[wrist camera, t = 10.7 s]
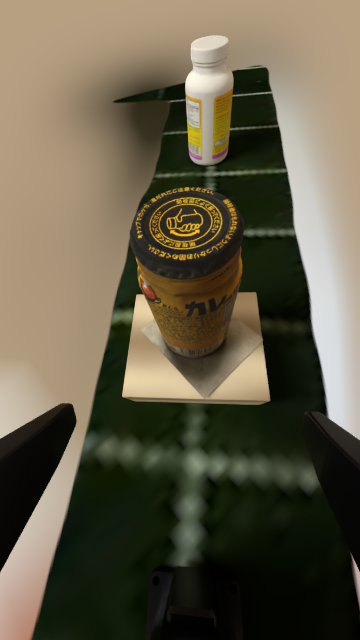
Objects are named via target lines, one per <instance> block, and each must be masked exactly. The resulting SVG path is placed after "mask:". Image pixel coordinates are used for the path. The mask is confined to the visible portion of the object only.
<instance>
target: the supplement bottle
mask: <svg viewBox="0 0 360 640" xmlns="http://www.w3.org/2000/svg"><path fill="white" fill-rule="evenodd" d="M228 42H229V41H228V39H227V38H226V37H224V36H207V37H203V38H200V39H197V40H195V41H194V42H193V43H192V44H191V60H192V63H193V70H192V72H190V74H189V75H188V77H187V79H186V85H185V88H186V106H187V124H188V141H189V154H190V158H191V160H192V161H193V162H195V163H196V164H199V165H214V164H217V163H219V162H221V161H222V160H223V159H224V158H225V157H226V155H227V152H228V142H229V130H230V117H231V105H232V92H233V74H232V72H231V70H230V69H229V68H228V67H226V58H227V55H228V44H229V43H228Z"/></svg>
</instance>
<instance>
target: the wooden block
mask: <svg viewBox="0 0 360 640" xmlns="http://www.w3.org/2000/svg"><path fill="white" fill-rule="evenodd" d="M232 313H233V315H234V316H236V317H237V318H238V319H239V320H240V321H242V322H243V323H244V324H246V325H247V326H248V327H249V328H250V329H251V330H253V331H254V332H255V333H257V334H258V335H259V336H260V337H261V338H262V334H261V326H260V319H259V311H258V304H257V296H256V292H251V293H237V298H236V301H235V304H234V309H233V312H232ZM153 319H154V316H153V314H152V312H151V310H150V307H149V305H148V303H147V300H146V299H145V296H144V295H137V296H136V303H135V310H134V317H133V324H132V331H131V338H130V345H129V352H128V359H127V366H126V373H125V381H124V388H123V395H122V397H125V398H128V399H131V400H134V401H148V402H181V403H214V404H247V405H260V404H263V403H266V402H268V401H270V395H269V387H268V379H267V372H266V364H265V357H264V349H263V342H261V343H260V344H259V345H258V346H257V347H256V348H255V349H254V350H253V351H252V352H251V353H250V354H249V355H248V356H247V357H246V358H245V359H244V360H243V361H242V362H241V363H240V364H239V365H238V366H237V367H236V368H235V369H234V370H233V371H232V372H231V373H230V374H229V375H228V376H227V377H226V378H225V379H224V380H223V381H222V382H221V383H220V384H219V385H218V386H217V387H216V388H215V389H214V390H213V391H212V392H211V393H210V394H209V395H208V396H207V397H206V398H205V399H204V398H203V397H202V396H201V395H200V394H199V393H198V392H197V391H196V389H195V388H194V387H193V386H192V385H191V384H190V383H189V382H188V381H187V380H186V379H185V378H184V377H183V375H182V374H181V373H180V372H179V371H178V370H177V369H176V368H175V367H174V366H173V365H172V363H170V361H169V360H168V359H167V358H166V357H165V356H164V355H163V354H162V353H161V352H160V350H159V349H158V348H157V347H156V346H155V345H154V344H153V343H152V342H151V341H150V340H149V338H148V337H147V336H146V335H145V334H144V333H143V332H142V331H141V329H142V328H143V327H144V326H146V325H147V324H148V323H149V322H151V321H152V320H153ZM227 337H228V336H227Z"/></svg>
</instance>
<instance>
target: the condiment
mask: <svg viewBox="0 0 360 640" xmlns="http://www.w3.org/2000/svg"><path fill="white" fill-rule="evenodd" d="M243 232H244V220H243V218H242V217H241V215H240V213H239V211H238V209H237V208H236V205H235V204H234V203H233V202H232V201H230V200H229V199H228V198H227V197H225V196H224V195H221V194H219V193H217V192H214V191H212V190H208V189H204V188H195V187H187V188H178V189H174V190H171V191H168V192H165V193H161V194H159V195H157V196H156V197H154V198H152V199H151V200H150V201H149V202H147V203H146V204H143V205H142V208H141V209H140V211H139V212H138V213H137V214H136V215H135V217H134V220H133V223H132V227H131V230H130V238H131V247H132V250H133V252H134V254H135V256H136V261H137V264H138V281H139V286H140V288H141V290H142V292H143V294H144V296H145V299H146V300H147V303H148V305H149V307H150V310H151V312H152V314H153V316H154V319H153V320H152V321H151V322H149V323H148V324H147V325H146V326H144V327H143V328H142V329H141V331H142V332H143V333H144V334H145V335H146V336H147V337H148V338H149V340H150V341H151V342H152V343H153V344H154V345H155V346H156V347H157V348H158V349H159V350H160V352H161V353H162V354H163V355H164V356H165V357H166V358H167V359H168V360H169V361H170V363H172V365H173V366H174V367H175V368H176V369H177V370H178V371H179V372H180V373H181V374H182V375H183V377H184V378H185V379H186V380H187V381H188V382H189V383H190V384H191V385H192V386H193V387H194V388H195V389H196V391H197V392H198V393H199V394H200V395H201V396H202V397H203V398H204V399H205V398H206V397H207V396H208V395H209V394H210V393H211V392H212V391H213V390H214V389H215V388H216V387H217V386H218V385H219V384H220V383H221V382H222V381H223V380H224V379H225V378H226V377H227V376H228V375H229V374H230V373H231V372H232V371H233V370H234V369H235V368H236V367H237V366H238V365H239V364H240V363H241V362H242V361H243V360H244V359H245V358H246V357H247V356H248V355H249V354H250V353H251V352H252V351H253V350H254V349H255V348H256V347H257V346H258V345H259V344H260V343H261V342H262V341H263V339H262V338H261V337H260V336H259V335H258V334H257V333H255V332H254V331H253V330H251V329H250V328H249V327H248V326H247V325H246V324H244V323H243V322H242V321H240V320H239V319H238V318H237V317H236V316H234V315H233V313H232V312H233V309H234V304H235V301H236V298H237V293H238V290H239V285H240V282H241V276H242V260H241V257H240V255H241V244H242V241H243ZM227 336H228V337H227Z"/></svg>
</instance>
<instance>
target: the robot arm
mask: <svg viewBox="0 0 360 640" xmlns="http://www.w3.org/2000/svg"><path fill="white" fill-rule="evenodd" d="M75 426H76V416H75V412H74V408H73V405H72V404H69V403H62V404H60V405H58V406H56V407H54V408H52V409H51V410H49V411H47V412H46V413H44V414H42V415H41V416H39V417H37V418H35V419H34V420H32V421H30V422H29V423H27V424H25V425H23V426H22V427H20V428H18V429H16V430H15V431H13V432H11V433H9V434H8V435H6V436H5V437H3V438H1V439H0V572H1V570H2V568H3V566H4V564H5V563H6V561H7V559H8V557H9V555H10V553H11V551H12V550H13V548H14V546H15V544H16V542H17V540H18V539H19V537H20V535H21V533H22V531H23V529H24V527H25V526H26V524H27V522H28V520H29V518H30V517H31V515H32V513H33V511H34V509H35V507H36V505H37V504H38V502H39V500H40V498H41V496H42V494H43V493H44V491H45V489H46V487H47V485H48V483H49V482H50V480H51V478H52V476H53V474H54V472H55V470H56V468H57V467H58V464H59V462H60V460H61V458H62V456H63V453H64V451H65V449H66V447H67V444H68V442H69V440H70V438H71V435H72V433H73V431H74V428H75ZM302 433H303V437H304V440H305V443H306V446H307V449H308V452H309V454H310V457H311V460H312V463H313V466H314V469H315V472H316V475H317V477H318V480H319V483H320V485H321V487H322V490H323V492H324V494H325V496H326V498H327V501H328V503H329V505H330V507H331V509H332V512H333V514H334V516H335V518H336V520H337V523H338V525H339V527H340V529H341V531H342V534H343V536H344V538H345V540H346V543H347V545H348V547H349V549H350V551H351V554H352V556H353V558H354V560H355V562H356V565H357V567H358V569H359V571H360V440H359V439H357V438H355V437H354V436H353V435H351V434H350V433H349V432H347V431H346V430H344V429H343V428H341V427H340V426H338V425H337V424H336V423H334V422H333V421H331V420H330V419H329V418H327V417H326V416H324V415H323V414H321V413H320V412H317V411H307V412H306V413H305V416H304V421H303V426H302ZM154 576H158V577H159V580H160V581H159V582H155V580H154ZM231 585H235V586H236V590H235V591H231V590H230V586H231ZM145 640H243V623H242V606H241V590H240V585H239V582H238V580H237V579H236V578H235V577H233V576H226V575H217V574H213V573H212V571H211V570H208V569H199V568H189V567H180V566H178V567H177V568H176V569H175V570H171V569H162V568H155V569H154V570H153V571H152V573H151V575H150V579H149V593H148V607H147V622H146V637H145Z"/></svg>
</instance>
